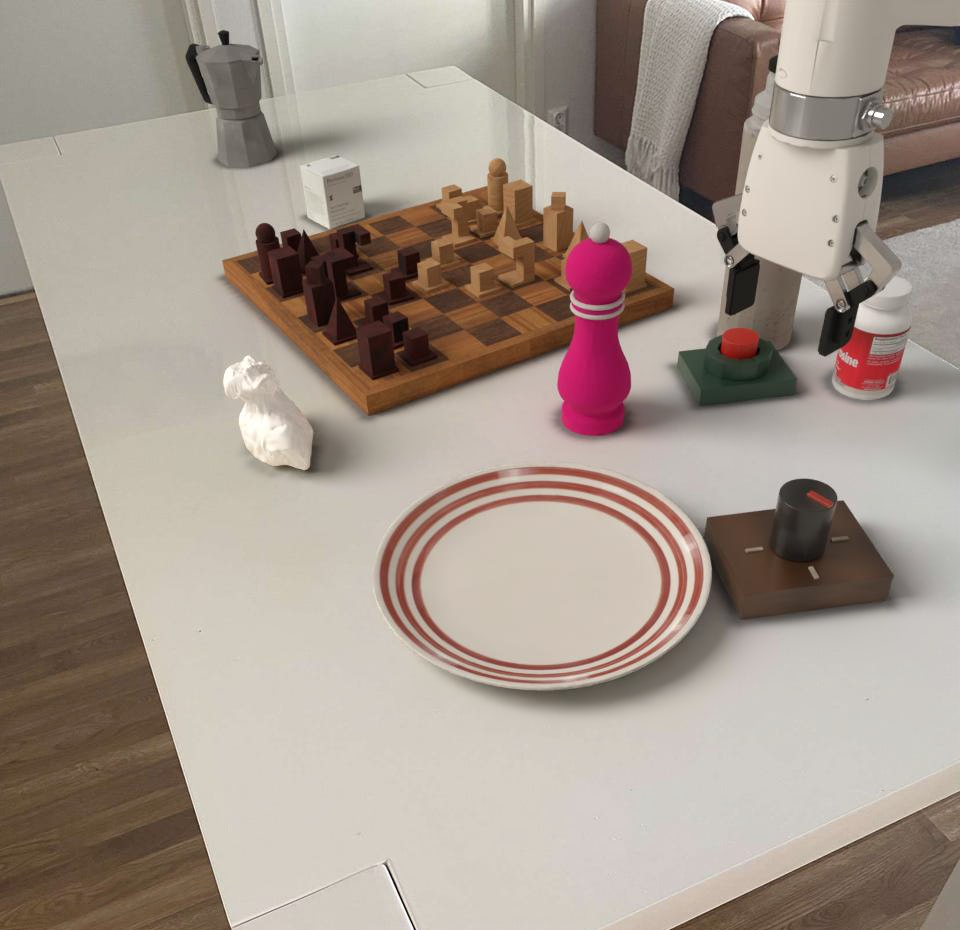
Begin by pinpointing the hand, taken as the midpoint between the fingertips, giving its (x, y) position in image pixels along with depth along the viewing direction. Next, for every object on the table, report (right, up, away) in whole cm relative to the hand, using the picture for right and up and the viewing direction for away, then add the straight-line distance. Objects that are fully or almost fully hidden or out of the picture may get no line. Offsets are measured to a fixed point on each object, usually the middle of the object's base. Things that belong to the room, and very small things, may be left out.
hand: (784, 329), depth 85 cm
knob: (0, -18, -3) cm, 19 cm away
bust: (-46, -8, +15) cm, 49 cm away
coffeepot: (-63, +51, +76) cm, 111 cm away
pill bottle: (+14, 0, +19) cm, 24 cm away
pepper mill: (-14, -4, +17) cm, 23 cm away
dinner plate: (-21, -22, -1) cm, 30 cm away
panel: (0, -21, -1) cm, 21 cm away
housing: (+1, +1, +21) cm, 21 cm away
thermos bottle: (+5, +7, +27) cm, 29 cm away
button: (+1, +3, +18) cm, 19 cm away
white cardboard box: (-46, +33, +57) cm, 80 cm away
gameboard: (-31, +16, +39) cm, 52 cm away
